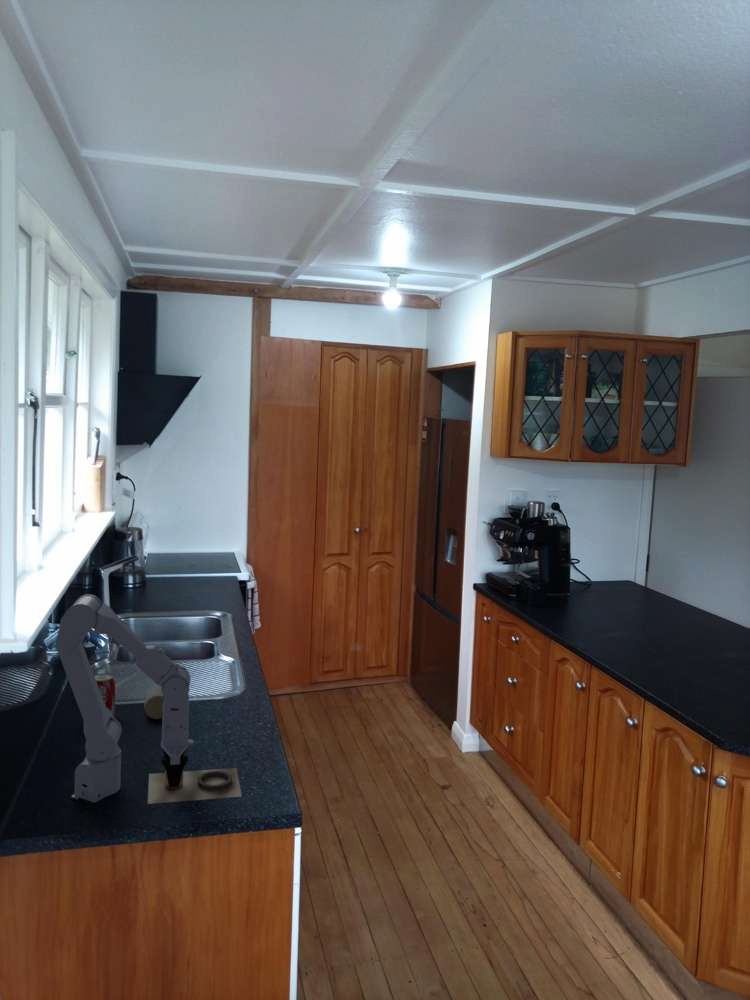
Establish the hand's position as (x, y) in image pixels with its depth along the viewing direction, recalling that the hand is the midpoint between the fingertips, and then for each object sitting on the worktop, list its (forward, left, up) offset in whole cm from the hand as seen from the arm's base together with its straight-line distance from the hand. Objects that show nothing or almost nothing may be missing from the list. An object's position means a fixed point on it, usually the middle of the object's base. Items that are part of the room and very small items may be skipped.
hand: (174, 781), depth 174 cm
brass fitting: (0, 0, -1) cm, 1 cm away
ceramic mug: (+33, +31, -2) cm, 45 cm away
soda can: (+21, +43, -2) cm, 48 cm away
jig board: (+3, -4, -2) cm, 5 cm away
